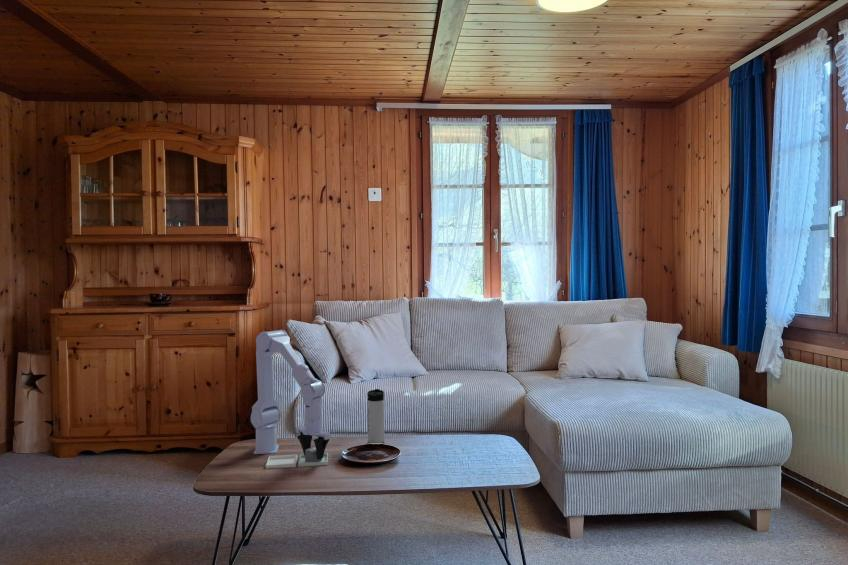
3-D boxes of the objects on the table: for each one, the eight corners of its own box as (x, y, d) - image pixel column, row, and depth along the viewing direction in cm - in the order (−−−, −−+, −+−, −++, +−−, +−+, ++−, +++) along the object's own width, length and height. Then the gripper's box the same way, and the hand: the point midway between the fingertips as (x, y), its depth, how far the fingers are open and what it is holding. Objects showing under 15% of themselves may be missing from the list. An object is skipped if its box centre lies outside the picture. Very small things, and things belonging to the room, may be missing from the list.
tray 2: (300, 457, 195) (300, 454, 195) (328, 456, 196) (328, 452, 196) (298, 467, 185) (298, 463, 185) (327, 465, 187) (327, 461, 187)
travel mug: (385, 441, 214) (385, 388, 214) (382, 446, 207) (382, 392, 207) (369, 440, 215) (369, 388, 214) (366, 445, 208) (365, 392, 208)
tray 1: (269, 459, 193) (269, 456, 193) (297, 458, 195) (297, 454, 195) (265, 469, 184) (265, 465, 184) (295, 467, 185) (295, 463, 185)
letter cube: (305, 461, 190) (305, 449, 190) (313, 458, 194) (313, 446, 194) (313, 463, 188) (313, 451, 188) (322, 460, 191) (321, 448, 191)
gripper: (289, 416, 192) (290, 456, 192) (319, 422, 183) (319, 464, 183) (305, 412, 197) (305, 450, 197) (334, 418, 189) (335, 458, 189)
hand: (313, 456), depth 191 cm, fingers open, 6 cm apart
